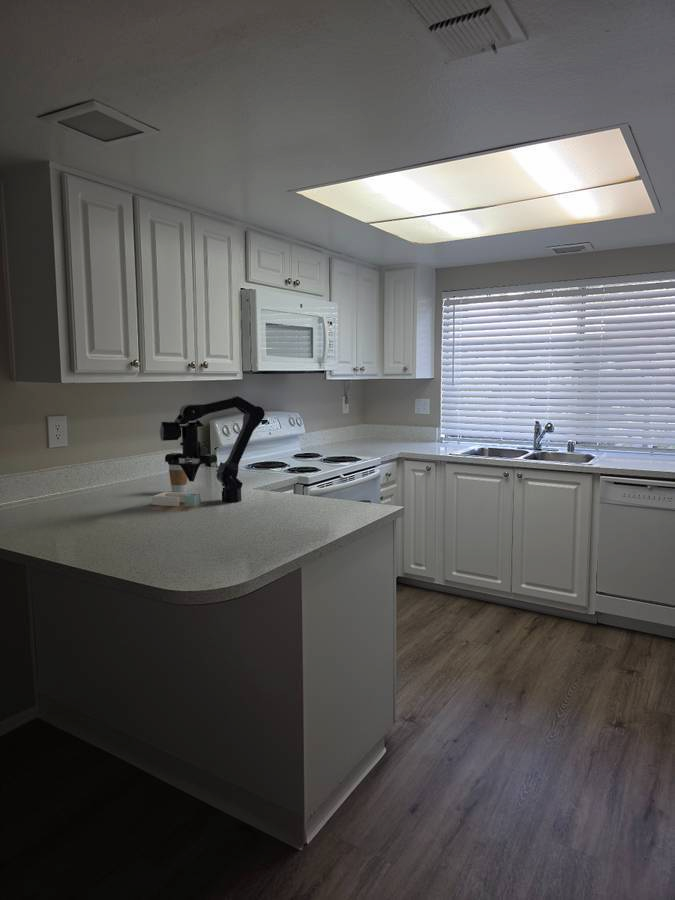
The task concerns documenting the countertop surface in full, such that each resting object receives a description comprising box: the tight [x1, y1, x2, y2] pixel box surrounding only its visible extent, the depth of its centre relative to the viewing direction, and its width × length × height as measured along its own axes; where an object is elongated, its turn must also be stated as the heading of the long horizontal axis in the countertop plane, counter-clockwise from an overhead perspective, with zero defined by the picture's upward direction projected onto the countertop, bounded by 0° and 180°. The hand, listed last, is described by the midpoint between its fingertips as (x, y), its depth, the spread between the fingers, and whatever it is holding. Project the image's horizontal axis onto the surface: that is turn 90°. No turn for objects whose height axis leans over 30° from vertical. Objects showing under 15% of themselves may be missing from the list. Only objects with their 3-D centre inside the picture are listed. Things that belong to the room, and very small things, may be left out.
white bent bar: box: [151, 491, 190, 506], centre depth 231 cm, size 11×8×3 cm
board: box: [143, 502, 208, 513], centre depth 228 cm, size 18×14×1 cm
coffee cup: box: [167, 460, 188, 493], centre depth 258 cm, size 8×8×15 cm
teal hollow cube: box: [184, 493, 202, 507], centre depth 229 cm, size 4×4×4 cm
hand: (191, 481), depth 228 cm, fingers closed
